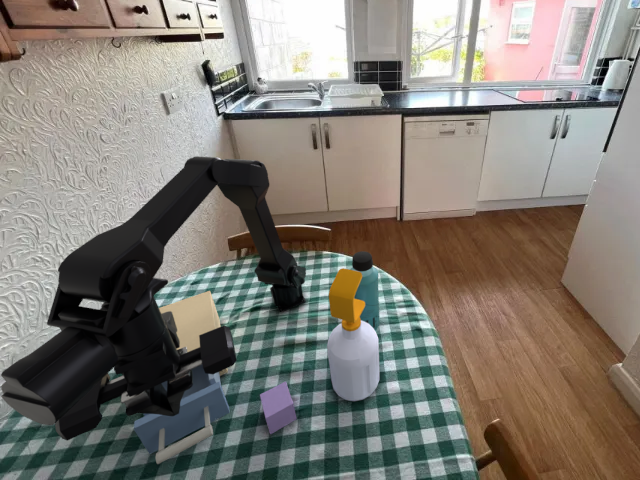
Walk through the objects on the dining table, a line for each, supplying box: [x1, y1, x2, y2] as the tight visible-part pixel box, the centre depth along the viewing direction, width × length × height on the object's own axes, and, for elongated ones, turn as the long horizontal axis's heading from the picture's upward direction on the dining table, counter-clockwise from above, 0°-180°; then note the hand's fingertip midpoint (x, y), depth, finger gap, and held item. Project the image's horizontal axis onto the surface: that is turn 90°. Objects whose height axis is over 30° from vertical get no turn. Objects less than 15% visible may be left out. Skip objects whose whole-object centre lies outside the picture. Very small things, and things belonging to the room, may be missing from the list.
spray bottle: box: [326, 267, 380, 402], centre depth 54 cm, size 9×9×25 cm
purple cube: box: [259, 381, 297, 435], centre depth 53 cm, size 4×4×4 cm
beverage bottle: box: [349, 250, 381, 332], centre depth 65 cm, size 6×7×20 cm
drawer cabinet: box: [159, 290, 229, 377], centre depth 62 cm, size 16×13×9 cm
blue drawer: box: [133, 365, 230, 465], centre depth 53 cm, size 19×11×7 cm, turn 31°
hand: (176, 412), depth 45 cm, fingers closed
